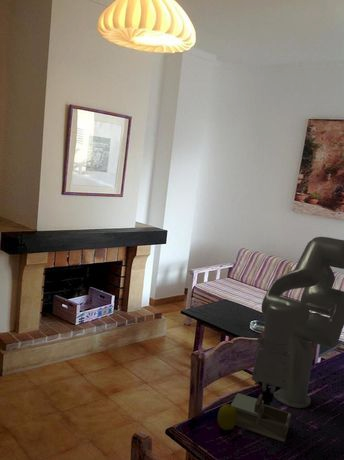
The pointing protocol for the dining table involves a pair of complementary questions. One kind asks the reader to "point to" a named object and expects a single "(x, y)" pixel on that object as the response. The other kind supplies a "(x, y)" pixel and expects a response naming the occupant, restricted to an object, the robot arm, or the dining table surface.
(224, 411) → the lemon
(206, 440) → the dining table surface
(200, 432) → the dining table surface
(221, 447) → the dining table surface
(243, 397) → the cover
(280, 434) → the beige box
